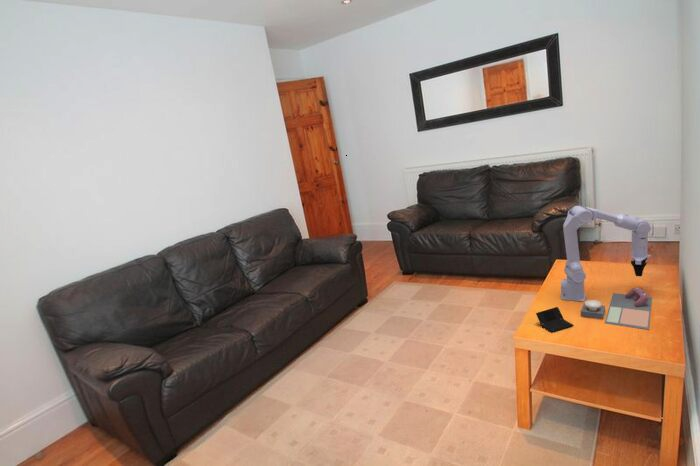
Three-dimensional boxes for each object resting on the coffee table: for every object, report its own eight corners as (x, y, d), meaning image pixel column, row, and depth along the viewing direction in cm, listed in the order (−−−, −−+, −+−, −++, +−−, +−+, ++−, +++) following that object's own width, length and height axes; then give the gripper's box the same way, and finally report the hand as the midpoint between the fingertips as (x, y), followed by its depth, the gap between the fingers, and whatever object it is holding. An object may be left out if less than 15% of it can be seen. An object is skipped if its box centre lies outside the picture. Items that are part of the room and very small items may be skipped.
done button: (583, 312, 166) (583, 304, 165) (586, 306, 170) (585, 299, 169) (600, 314, 162) (600, 306, 161) (602, 308, 166) (602, 300, 165)
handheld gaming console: (556, 331, 156) (544, 308, 160) (543, 336, 162) (533, 313, 166) (576, 326, 160) (564, 303, 164) (563, 330, 166) (552, 308, 170)
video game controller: (644, 309, 164) (653, 296, 162) (634, 306, 165) (642, 292, 163) (633, 299, 174) (641, 286, 171) (623, 296, 174) (631, 283, 172)
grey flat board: (604, 323, 158) (604, 322, 158) (613, 293, 180) (613, 292, 180) (648, 329, 149) (648, 329, 149) (652, 297, 170) (652, 297, 170)
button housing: (580, 316, 166) (580, 311, 165) (584, 308, 172) (583, 303, 171) (602, 319, 161) (602, 314, 160) (605, 311, 167) (605, 305, 166)
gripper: (650, 251, 163) (649, 280, 166) (651, 240, 174) (650, 268, 177) (629, 250, 168) (629, 279, 171) (632, 240, 178) (632, 267, 181)
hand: (639, 273), depth 174 cm, fingers open, 5 cm apart
